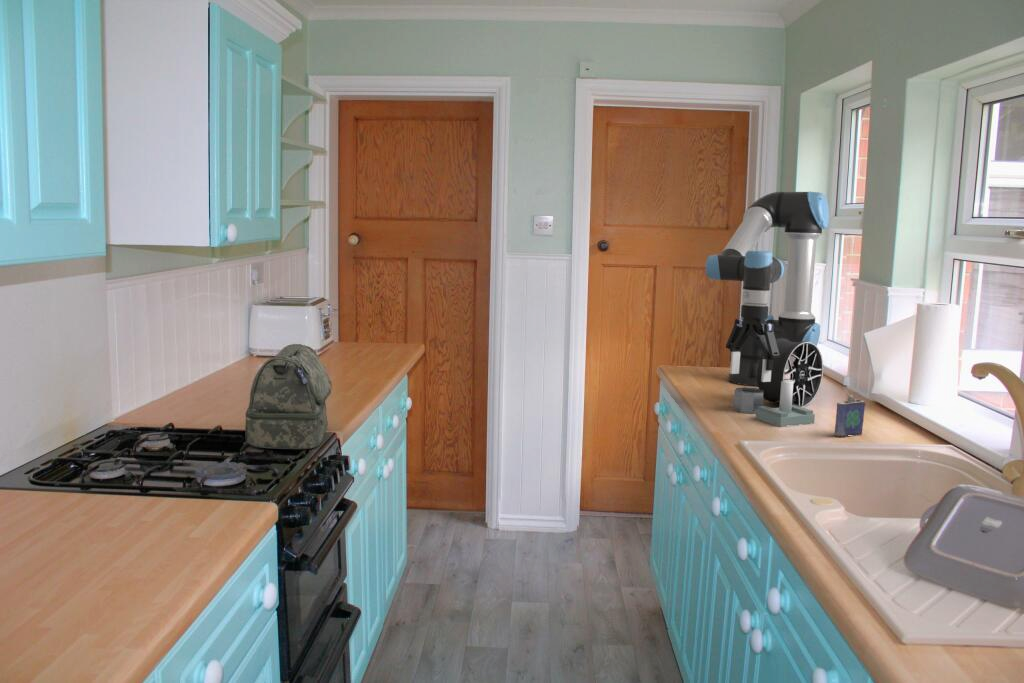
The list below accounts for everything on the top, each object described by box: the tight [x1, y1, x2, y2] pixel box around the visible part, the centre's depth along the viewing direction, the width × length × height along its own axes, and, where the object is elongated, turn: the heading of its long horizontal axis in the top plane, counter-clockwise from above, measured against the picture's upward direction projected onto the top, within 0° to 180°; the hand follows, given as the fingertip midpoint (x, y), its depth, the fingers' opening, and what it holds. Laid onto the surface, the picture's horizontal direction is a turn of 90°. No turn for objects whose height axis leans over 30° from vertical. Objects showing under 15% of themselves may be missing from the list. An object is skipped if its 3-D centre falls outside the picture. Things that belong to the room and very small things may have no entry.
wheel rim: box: [757, 338, 824, 408], centre depth 255 cm, size 20×9×20 cm, turn 127°
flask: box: [833, 393, 866, 437], centre depth 221 cm, size 9×3×11 cm, turn 117°
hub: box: [733, 386, 764, 415], centre depth 247 cm, size 8×8×6 cm
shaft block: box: [754, 381, 816, 427], centre depth 235 cm, size 12×10×11 cm
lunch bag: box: [245, 343, 333, 450], centre depth 203 cm, size 26×18×22 cm
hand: (749, 377), depth 246 cm, fingers open, 13 cm apart
